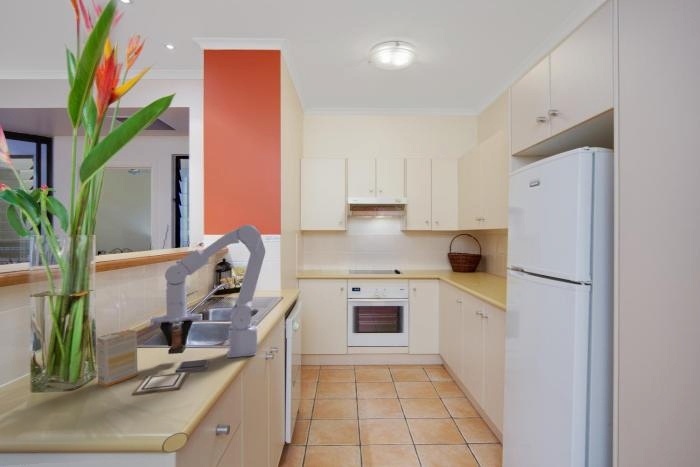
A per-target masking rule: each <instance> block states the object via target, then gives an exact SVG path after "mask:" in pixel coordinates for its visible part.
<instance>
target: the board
mask: <svg viewBox="0 0 700 467" xmlns="http://www.w3.org/2000/svg"><path fill="white" fill-rule="evenodd" d="M189 373H190V372H182V373H176V372H174V373H162V374H155V375H146V376H145V377H144V379H142V381H141V382H140V383H139V385H138V386H136V388H135V389H134V390H133V392H132V393H131V394H132V396H134V395H136V396H137V395H145V394H152V393H153V394H154V393H161V392H171V391H172V392H173V391H177V390H178V391H179V390H181V389H182V386H183V384H184V383H185V381H186V379H187V377H188V375H189Z"/></svg>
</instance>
